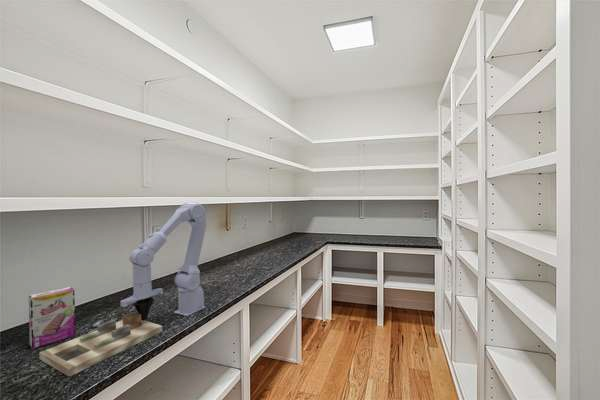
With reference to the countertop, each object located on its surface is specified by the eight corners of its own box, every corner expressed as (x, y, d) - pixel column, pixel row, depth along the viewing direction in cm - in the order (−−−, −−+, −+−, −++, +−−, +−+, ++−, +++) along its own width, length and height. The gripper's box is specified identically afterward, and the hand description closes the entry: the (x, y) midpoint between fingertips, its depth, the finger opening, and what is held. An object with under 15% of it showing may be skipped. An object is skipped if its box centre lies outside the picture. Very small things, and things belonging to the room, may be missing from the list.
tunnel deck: (131, 321, 106) (131, 308, 106) (162, 331, 97) (161, 317, 97) (39, 359, 82) (38, 342, 82) (69, 376, 74) (68, 357, 74)
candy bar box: (32, 350, 87) (29, 298, 87) (29, 345, 91) (27, 295, 90) (76, 336, 96) (74, 288, 96) (73, 331, 99) (71, 285, 99)
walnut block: (134, 323, 100) (134, 312, 100) (141, 325, 98) (141, 314, 98) (123, 328, 97) (122, 316, 96) (129, 330, 95) (129, 318, 95)
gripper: (154, 275, 109) (155, 310, 109) (114, 286, 96) (116, 325, 97) (166, 277, 106) (167, 313, 106) (126, 289, 93) (128, 330, 93)
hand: (143, 319), depth 101 cm, fingers closed
